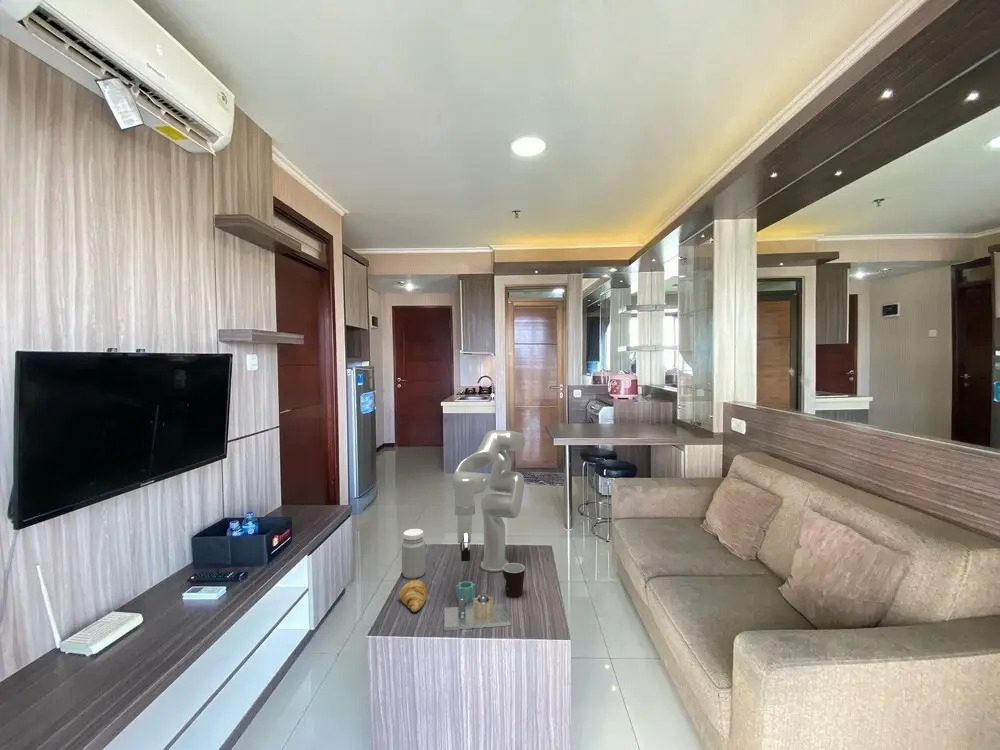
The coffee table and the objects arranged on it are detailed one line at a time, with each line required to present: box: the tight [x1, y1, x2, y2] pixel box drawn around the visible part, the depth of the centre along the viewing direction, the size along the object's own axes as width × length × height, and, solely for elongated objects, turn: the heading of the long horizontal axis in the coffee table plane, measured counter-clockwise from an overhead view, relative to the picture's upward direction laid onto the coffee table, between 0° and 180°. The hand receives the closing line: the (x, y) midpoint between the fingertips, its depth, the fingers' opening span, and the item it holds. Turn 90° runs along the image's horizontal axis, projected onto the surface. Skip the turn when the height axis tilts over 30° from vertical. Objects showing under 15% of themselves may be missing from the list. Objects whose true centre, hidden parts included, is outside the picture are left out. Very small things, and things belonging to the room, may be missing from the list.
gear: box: [456, 580, 476, 604], centre depth 161 cm, size 7×7×5 cm
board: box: [443, 594, 511, 632], centre depth 147 cm, size 12×22×7 cm, turn 97°
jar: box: [401, 528, 426, 580], centre depth 181 cm, size 10×10×18 cm
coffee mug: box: [502, 562, 526, 599], centre depth 165 cm, size 12×9×10 cm
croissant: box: [398, 578, 428, 613], centre depth 160 cm, size 21×10×8 cm, turn 17°
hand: (465, 555), depth 161 cm, fingers open, 9 cm apart
